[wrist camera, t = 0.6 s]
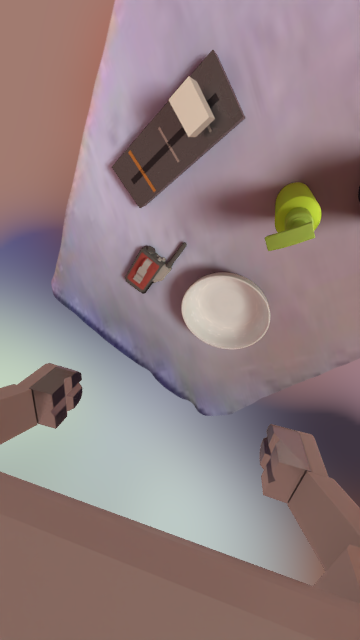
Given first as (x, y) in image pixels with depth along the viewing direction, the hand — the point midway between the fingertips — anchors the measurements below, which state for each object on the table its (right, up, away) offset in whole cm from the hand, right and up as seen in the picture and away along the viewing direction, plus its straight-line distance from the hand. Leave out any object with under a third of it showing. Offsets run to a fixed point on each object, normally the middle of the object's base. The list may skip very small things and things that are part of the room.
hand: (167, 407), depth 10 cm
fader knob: (+4, +37, +27) cm, 46 cm away
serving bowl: (+13, +9, +50) cm, 52 cm away
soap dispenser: (+21, +26, +33) cm, 47 cm away
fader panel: (-1, +36, +33) cm, 49 cm away
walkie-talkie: (-6, +19, +50) cm, 54 cm away
